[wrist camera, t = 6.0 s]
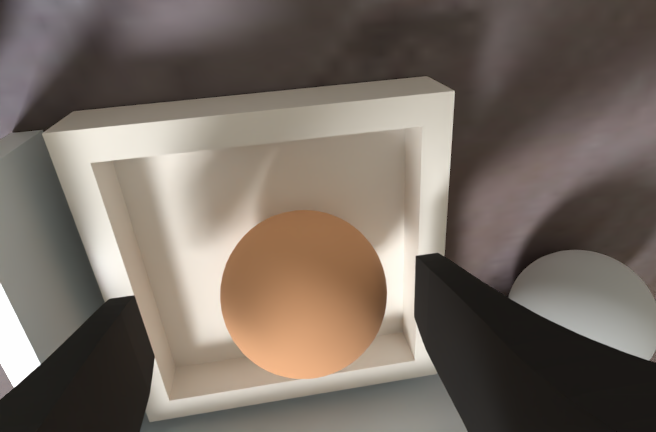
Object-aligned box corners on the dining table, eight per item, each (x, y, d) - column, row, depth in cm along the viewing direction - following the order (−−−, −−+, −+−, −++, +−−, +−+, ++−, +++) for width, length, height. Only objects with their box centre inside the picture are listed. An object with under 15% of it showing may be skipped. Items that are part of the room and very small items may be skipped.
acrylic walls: (505, 350, 18) (565, 437, 15) (124, 413, 17) (90, 526, 13) (547, 77, 13) (653, 111, 10) (10, 133, 12) (-93, 196, 8)
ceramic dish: (418, 334, 17) (437, 374, 15) (160, 374, 16) (149, 422, 15) (427, 76, 13) (454, 91, 11) (73, 111, 12) (41, 133, 10)
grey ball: (584, 315, 18) (674, 405, 14) (479, 331, 18) (542, 429, 14) (608, 219, 16) (720, 293, 12) (490, 235, 16) (569, 318, 12)
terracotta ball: (345, 290, 16) (418, 378, 12) (220, 332, 14) (259, 446, 11) (339, 172, 14) (423, 235, 10) (191, 206, 12) (228, 294, 9)
